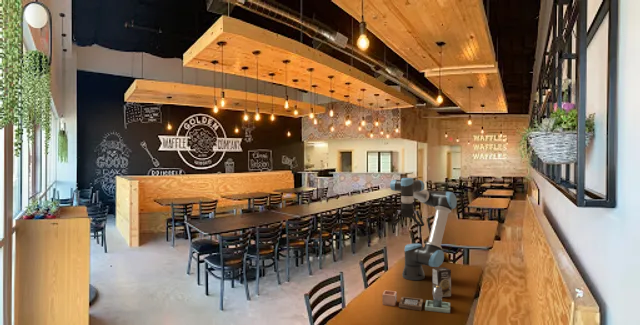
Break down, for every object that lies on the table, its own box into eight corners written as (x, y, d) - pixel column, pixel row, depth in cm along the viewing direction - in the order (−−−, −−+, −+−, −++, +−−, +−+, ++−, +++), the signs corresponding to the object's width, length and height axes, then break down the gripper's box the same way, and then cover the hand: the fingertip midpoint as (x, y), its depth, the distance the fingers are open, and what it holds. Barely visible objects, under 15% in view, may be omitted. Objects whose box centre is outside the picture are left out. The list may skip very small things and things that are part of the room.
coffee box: (438, 298, 222) (438, 271, 221) (432, 294, 228) (432, 268, 228) (451, 296, 224) (451, 269, 224) (445, 292, 230) (445, 266, 230)
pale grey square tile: (405, 300, 216) (405, 299, 216) (418, 302, 214) (418, 300, 214) (404, 305, 210) (404, 303, 210) (416, 306, 207) (416, 305, 207)
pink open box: (384, 300, 219) (384, 290, 219) (396, 301, 217) (396, 291, 217) (382, 304, 213) (382, 294, 213) (394, 306, 210) (394, 295, 210)
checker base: (401, 299, 219) (401, 296, 219) (422, 302, 215) (422, 298, 215) (398, 307, 208) (398, 304, 208) (421, 310, 204) (421, 306, 204)
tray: (426, 303, 214) (426, 300, 214) (450, 306, 209) (450, 302, 209) (424, 310, 204) (424, 306, 204) (449, 313, 200) (449, 309, 200)
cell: (433, 304, 210) (433, 284, 209) (441, 305, 208) (441, 285, 208) (433, 308, 205) (433, 286, 205) (441, 309, 204) (442, 287, 204)
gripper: (386, 202, 233) (386, 236, 233) (427, 203, 224) (427, 238, 225) (388, 201, 240) (388, 234, 240) (428, 202, 231) (428, 236, 232)
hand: (407, 236), depth 232 cm, fingers open, 13 cm apart
